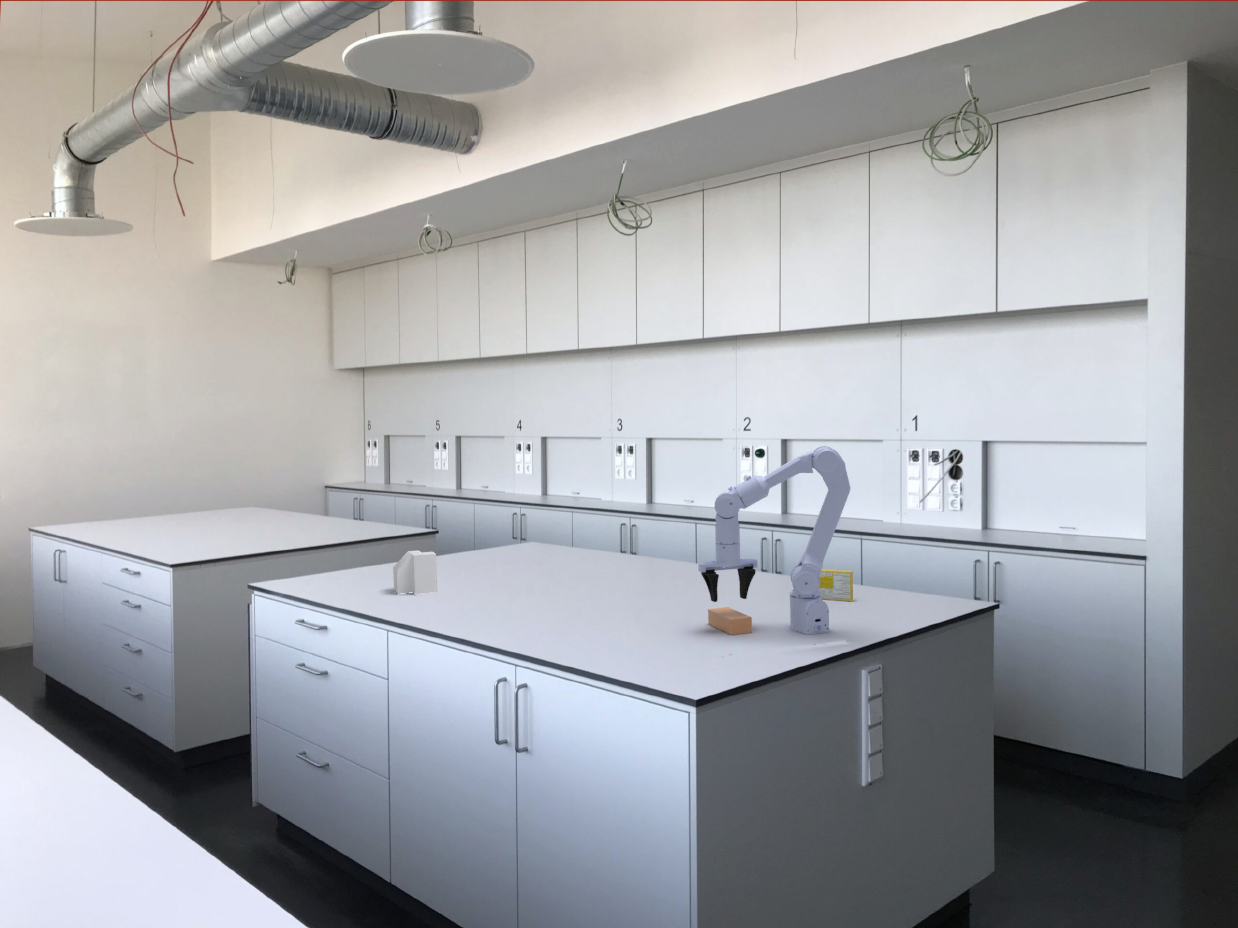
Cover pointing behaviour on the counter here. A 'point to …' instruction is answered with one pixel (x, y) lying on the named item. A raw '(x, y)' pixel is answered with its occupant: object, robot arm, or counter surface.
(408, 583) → the corner bracket
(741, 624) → the tan rectangular plank
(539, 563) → the counter surface
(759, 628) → the counter surface
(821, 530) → the robot arm
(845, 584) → the candy box
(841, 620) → the counter surface
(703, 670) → the counter surface
